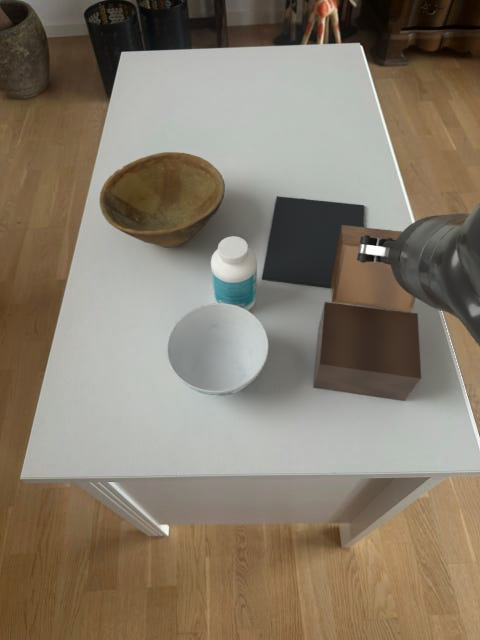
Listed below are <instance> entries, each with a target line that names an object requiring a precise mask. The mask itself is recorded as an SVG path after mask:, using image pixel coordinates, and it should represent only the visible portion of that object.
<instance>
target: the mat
mask: <svg viewBox="0 0 480 640" xmlns="http://www.w3.org/2000/svg"><path fill="white" fill-rule="evenodd" d="M364 220H365V205H364V204H356V203H347V202H338V201H337V202H336V201H328V200H319V199H308V198H299V197H298V198H297V197H289V196H278V195H277V196H276V200H275V204H274V210H273V215H272V221H271V225H270V231H269V237H268V242H267V248H266V253H265V259H264V264H263V270H262V275H261V280H263V281H269V282H277V283H285V284H286V283H287V284H293V285H294V284H295V285H302V286H310V287H317V288H325V289H326V288H327V289H331V279H332V274H333V269H334V263H335V258H336V252H337V247H338V241H339V236H340V231H341V225H346V226H355V227H364V228H365V225H364V223H365V221H364Z"/></svg>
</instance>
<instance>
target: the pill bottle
mask: <svg viewBox="0 0 480 640" xmlns="http://www.w3.org/2000/svg"><path fill="white" fill-rule="evenodd" d="M210 270H211V276H212V279H211V280H212V286H213V294H214V295H213V296H214V301H215V303H225V304H232V305H236V306H239V307H241V308H243V309H245V310H247V311H250V310H251V309H252V308H253V307H254V305H255V304H256V302H257V285H258V283H257V282H258V281H257V279H258V272H257V271H258V259H257V256H256V254H255V252H254V251H253V250H252V249H251V248H250V247H249V244H248V242H247V241H246V240H245V238H244V239H243V238H242V237H240V236H235V235H234V236H233V235H231V236H228V237H225V238H223V239H222V240H221V241H219V243H218V246H217V249H216V250H215V251H214V252H213V254H212V256H211V258H210Z"/></svg>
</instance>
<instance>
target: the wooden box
mask: <svg viewBox="0 0 480 640" xmlns="http://www.w3.org/2000/svg"><path fill="white" fill-rule="evenodd" d="M402 232H403V231H400V230H392V229H381V228H373V227H365V226H364V227H355V226H346V225H341V231H340V236H339V241H338V247H337V252H336V258H335V263H334V269H333V274H332V279H331V288H330V294H331V295H330V296H331V299H330V300H331V303H337V304H345V305H353V306H361V307H369V308H377V309H385V310H392V311H400V312H408V313H412V312H413V311H412V310H413V308H414V304H415V301H416V299H417V298H416V297H414V296H412V295H411V294H409V293H408V292H406V291H405V290H404V289H403V288H402V287H401V286H400V285H399V284H398V282H397V281H396V279H395V277H394V274H393V272H392V268H391V265H390V264H385V263H383V262H365V263H362V262H360V261H358V260H357V257H358V250H359V244H361V243H360V239H361V236H363V237H365V235H367V236H370V237H372V238H381V239H388V238H392V240H397V238H398V237H399V236H400V234H401V233H402Z"/></svg>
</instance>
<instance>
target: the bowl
mask: <svg viewBox="0 0 480 640" xmlns="http://www.w3.org/2000/svg"><path fill="white" fill-rule="evenodd" d="M225 190H226V184H225V180H224V178H223V174H221V172H220V171H219V170H218V169H217V168H216V167H215V165H213V164H211V163H210V162H209V161H208V160H206V159H204V158H202V157H200V156H198V155H194V154H190V153H186V152H178V151H175V152H174V151H172V152H171V151H165V152H163V151H162V152H159V153H154V154H151V155H147V156H145V157H140V158H137V159H136V160H134V161H132V162H130V163H128V164H125V165H123V166H122V168H119V169H117V170H115V172H113V173H112V175H110V176H109V177H108V178H107V179H106V180H105V181H104V183H103V185H102V187H101V190H100V194H99V209H100V211H101V214H102V216H103V217H104V219H105V220H106V221H107V223H108V224H110V225H111V226H112V227H113V228H115V229H117V230H118V231H120V232H122V233H124V234H126V235H127V236H130V237H132V238H135V239H137V240H139V241H141V242H143V243H148V244H151V245H154V246H158V247H162V248H174V247H178V246H179V247H180V246H181V245H183V244H184V243H186V242H187V241H188V240H189V239H190V238H191V239H192V238H193V236H195V235H196V234H197V233H199V232H200V231H201V230H202V229H203V228H204V227H205V226H206V225H207V223H208V222H209V221H211V219H212V218H213V217H214V216H215V215H216V213H217V212H218V211H219V208H220V206H221V204H222V202H223V200H224V197H225V192H226V191H225Z"/></svg>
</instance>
